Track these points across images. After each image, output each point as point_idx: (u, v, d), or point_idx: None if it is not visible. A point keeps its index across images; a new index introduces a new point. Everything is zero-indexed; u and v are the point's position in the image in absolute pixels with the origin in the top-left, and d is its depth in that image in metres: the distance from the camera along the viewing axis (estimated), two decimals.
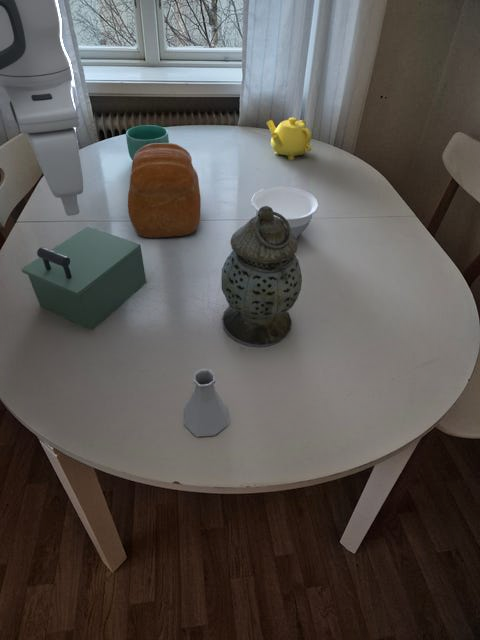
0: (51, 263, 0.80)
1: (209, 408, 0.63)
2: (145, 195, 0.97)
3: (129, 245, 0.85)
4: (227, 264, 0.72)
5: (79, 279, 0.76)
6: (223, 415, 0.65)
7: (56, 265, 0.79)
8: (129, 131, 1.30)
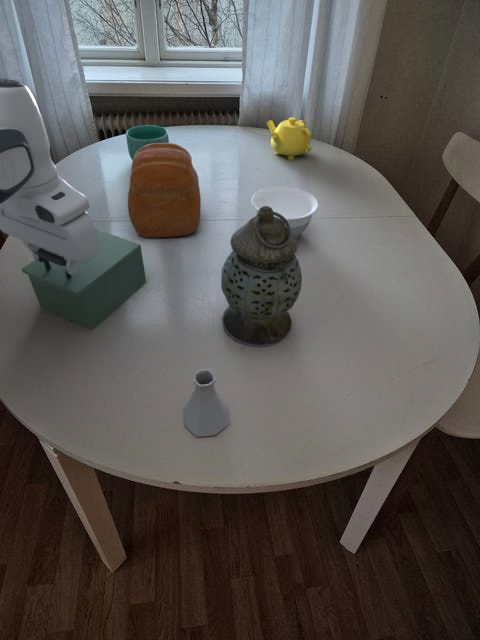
0: (51, 263, 0.80)
1: (209, 408, 0.63)
2: (145, 195, 0.97)
3: (129, 245, 0.85)
4: (227, 264, 0.72)
5: (79, 279, 0.76)
6: (223, 415, 0.65)
7: (56, 265, 0.79)
8: (129, 131, 1.30)
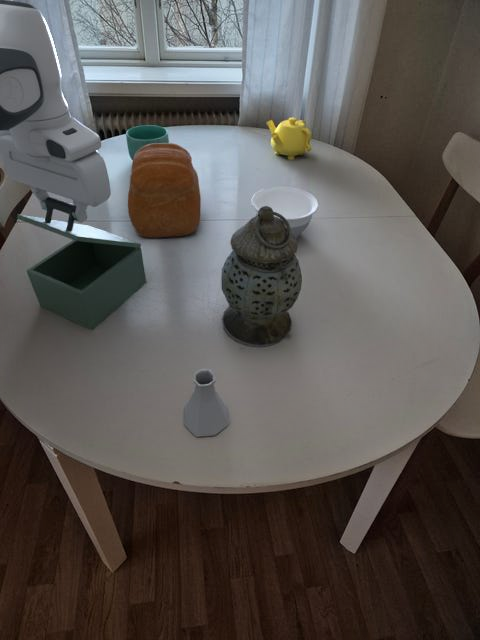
0: (50, 222, 0.76)
1: (209, 408, 0.63)
2: (145, 195, 0.97)
3: (130, 241, 0.84)
4: (227, 264, 0.72)
5: (79, 233, 0.73)
6: (223, 415, 0.65)
7: (55, 224, 0.76)
8: (129, 131, 1.30)
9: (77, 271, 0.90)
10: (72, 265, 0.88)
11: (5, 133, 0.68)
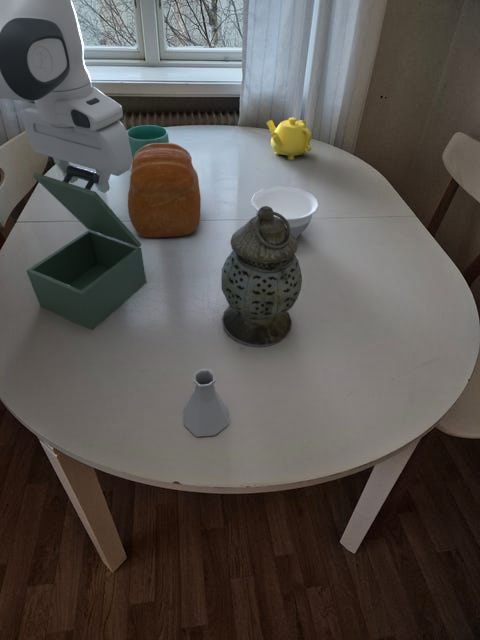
0: None
1: (209, 408, 0.63)
2: (145, 195, 0.97)
3: None
4: (227, 264, 0.72)
5: None
6: (223, 415, 0.65)
7: None
8: (129, 131, 1.30)
9: (77, 271, 0.90)
10: (72, 265, 0.88)
11: (29, 106, 0.70)
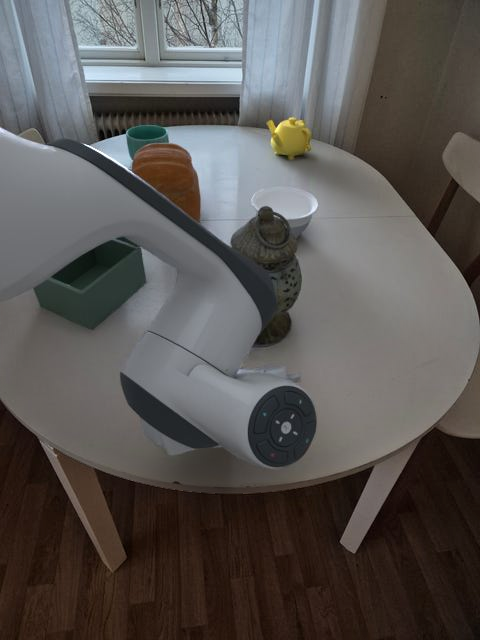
0: None
1: None
2: None
3: None
4: None
5: None
6: None
7: None
8: (129, 131, 1.30)
9: (77, 271, 0.90)
10: (72, 265, 0.88)
11: (285, 378, 0.55)
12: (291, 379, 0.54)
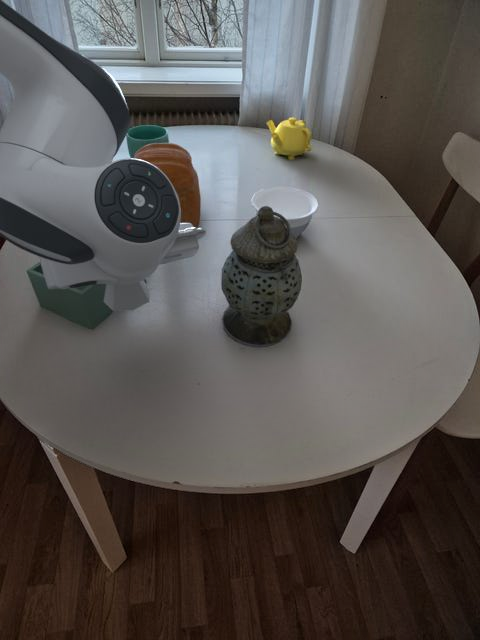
0: None
1: None
2: None
3: None
4: (227, 264, 0.72)
5: None
6: (141, 290, 0.64)
7: None
8: (129, 131, 1.30)
9: None
10: None
11: None
12: (193, 228, 0.53)
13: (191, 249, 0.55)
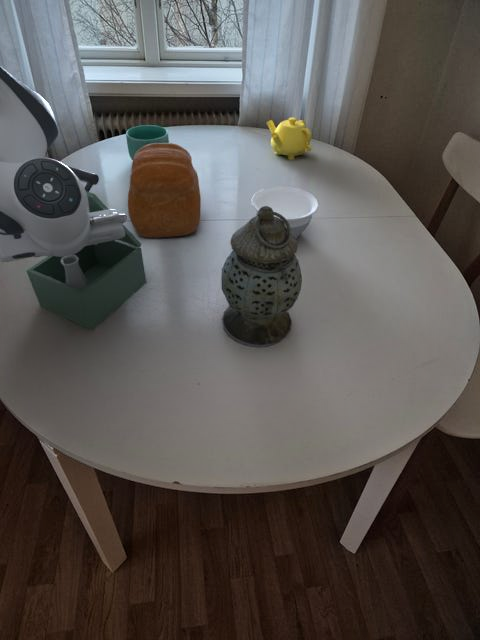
0: None
1: (77, 287, 0.81)
2: (145, 195, 0.97)
3: None
4: (227, 264, 0.72)
5: None
6: None
7: None
8: (129, 131, 1.30)
9: None
10: None
11: None
12: (115, 213, 0.67)
13: (116, 230, 0.69)
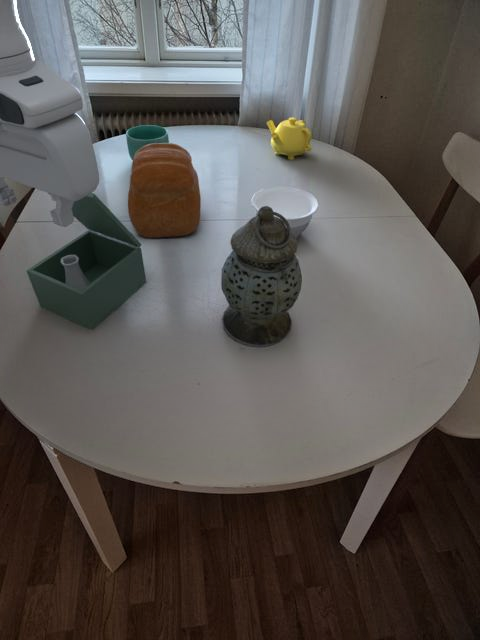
0: None
1: (77, 287, 0.81)
2: (145, 195, 0.97)
3: None
4: (227, 264, 0.72)
5: None
6: None
7: None
8: (129, 131, 1.30)
9: None
10: None
11: None
12: None
13: None
